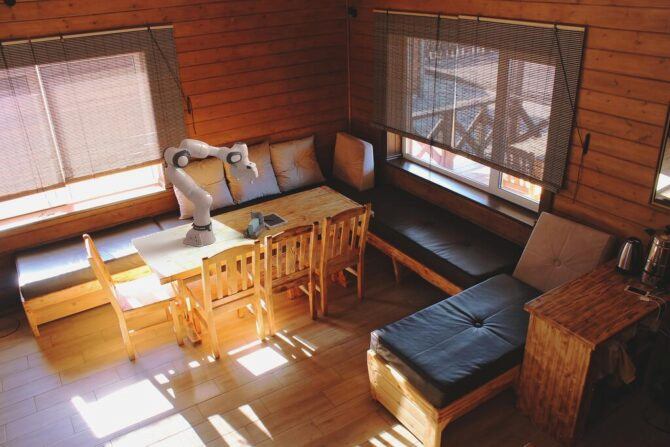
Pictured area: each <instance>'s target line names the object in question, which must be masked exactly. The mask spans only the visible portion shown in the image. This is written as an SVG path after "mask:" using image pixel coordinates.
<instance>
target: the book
mask: <svg viewBox="0 0 670 447" xmlns="http://www.w3.org/2000/svg"><path fill="white" fill-rule="evenodd" d="M258 227H259V218H254V219H253V220H252V219H251V221H249V223H248V224H247V228H248V230H249V235H254V231H255V230H256V229H257V228H258Z"/></svg>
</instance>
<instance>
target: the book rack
mask: <svg viewBox="0 0 670 447" xmlns="http://www.w3.org/2000/svg"><path fill="white" fill-rule="evenodd" d="M263 216H264V212H263V211H252V210H251V211H250V219H251V221H252V220H253V219H254V218H259V227H258V228H257V229H256V230H255V231H254V235H249V230H248V227H247V228H245V229H244V235H243V238H244V239H254V240H258V239H259V237H260V236H261V235H262V234H263V233H264V232H265V231H266V226H264V218H263Z"/></svg>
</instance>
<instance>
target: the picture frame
mask: <svg viewBox="0 0 670 447" xmlns="http://www.w3.org/2000/svg"><path fill="white" fill-rule="evenodd" d="M263 218H264V227H265V228H267V229H268V230H272V229H275V228H280V227H282V226H284V225H288V224H289V220H287V219H285V218H284V217H282V216H281V215H279V214H278V213H276V212H271V213H269V214H268V213H267V214H263Z"/></svg>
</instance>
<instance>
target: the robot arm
mask: <svg viewBox="0 0 670 447" xmlns="http://www.w3.org/2000/svg"><path fill="white" fill-rule="evenodd" d="M248 151H249V150H248V146H247V144H246V143H245V142H243V141H236V142H234V144H233V146H232V147H231V148H229V147H228V146H226V145H225V146H224V145H220V146H213V145H209V144H208V143H207V142H204V141H201V140H199V139H198V140H197V139H191V138H184V139H182V141H180V144H179V146H178V147H177V146H174V145H173V146H172V145H171V146H170V145H169V146H166V147H165V148H164V149H163V150H162V158H163V160H164V164H165V165H166V166H167V167H166V168H165V170H164V174H165V176H166V178H167V180H168V181H169V182H170V183H171V184H172V185H173V186H174V187H175V188H176V189H178V191H180V192H181V193H182V195H184V197H185V198H186V199H187V200H189V202H191V203H192V204H194V211H192V217H193V218H192V219H193V223H192V224H191V225H190V226H191V228H190V229H189V230H188V231H187V232H186V234H185V238H183V241H182V243H183V244H185V245H188V246H194V247H198V248H201V247H204V246H208V245H211V244H213V243H215V242H216V240H217V238H216V236H215V233H214V231H213V224H212V223H213V222H212V220H211V215H210V208H211V206H212V204H213V201H214V200H213V197H212V195H211V194H210V193H209V191H205V190H204V189H203V188H201V187H200V186H199V185H197V183H196V182H195V181H194V179H193V178H192V177H191V176H190V175H189V174H188V173H187V172H186V171H185V170H184V168H186V167H187V166H188V165H189V163H190V161H191V160H190V159H191V158H192V157H193V158H198V159H205V158H207V157H208V156H211V157H212V156H213V157H216V158H217V159H218V160H219V161H222V162H224V163H225V164H228V165H229V175H230V177H231V178H234V179H235V180H236V181H237V183H238V184H240V183H241V179H239V178H243V179H244V178H245V179H250V180H249V184H250V185H253V183H254V182H253V181H254V180H256V179H258V177H259V172H258V168H257V167H256V166H257V163H256V162H252V161H250V160H249V152H248Z"/></svg>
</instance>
